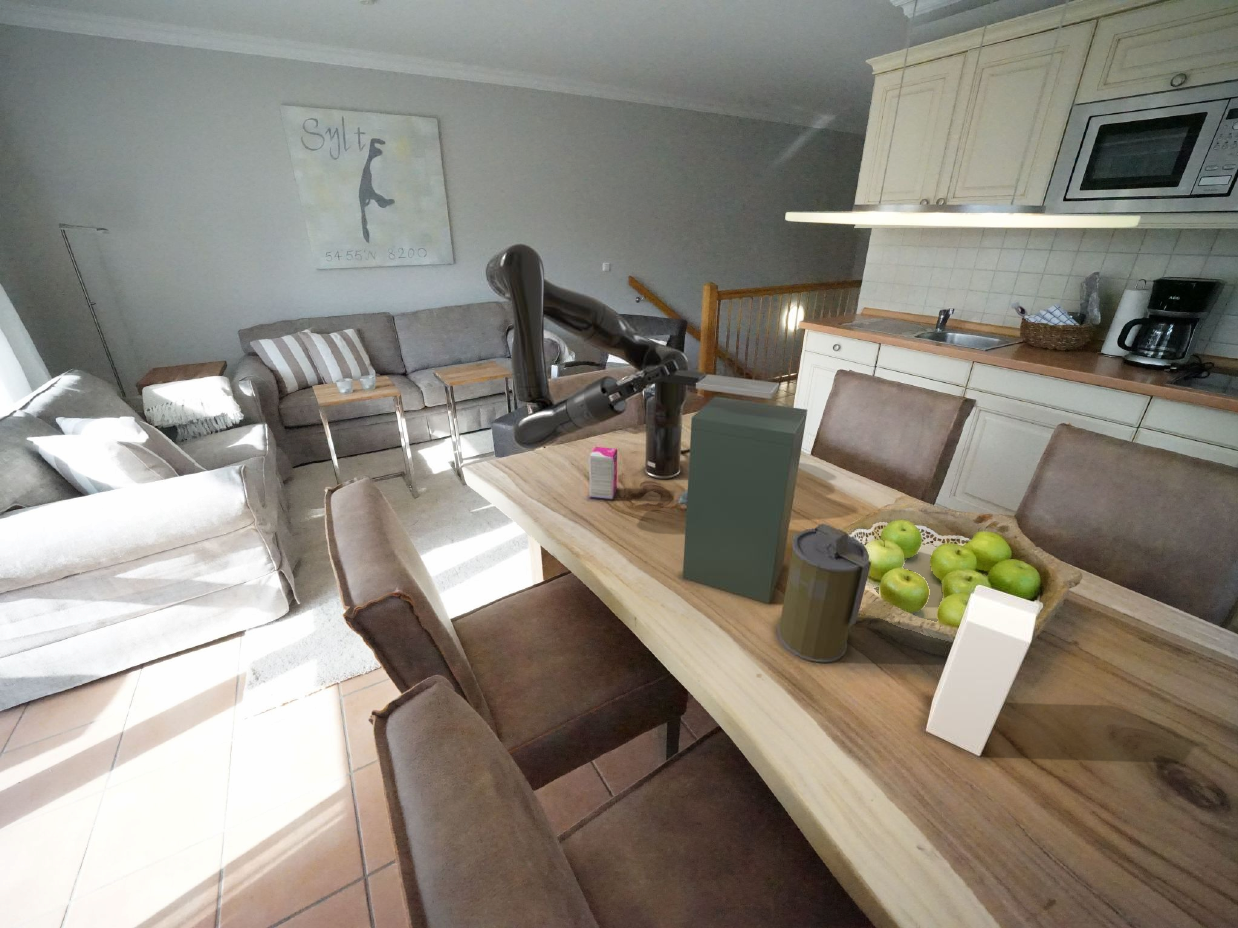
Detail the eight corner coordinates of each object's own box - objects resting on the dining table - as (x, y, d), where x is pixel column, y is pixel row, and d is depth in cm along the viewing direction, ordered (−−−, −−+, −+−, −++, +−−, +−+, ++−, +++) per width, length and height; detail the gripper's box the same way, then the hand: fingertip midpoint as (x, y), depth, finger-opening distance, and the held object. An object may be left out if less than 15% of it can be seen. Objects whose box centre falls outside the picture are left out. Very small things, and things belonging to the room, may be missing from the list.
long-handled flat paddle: (653, 372, 91) (654, 364, 91) (778, 389, 82) (779, 379, 81) (639, 381, 86) (639, 372, 86) (770, 399, 77) (771, 389, 77)
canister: (764, 633, 82) (779, 528, 73) (802, 606, 88) (821, 506, 79) (824, 676, 74) (850, 564, 66) (862, 643, 80) (890, 536, 71)
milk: (932, 700, 70) (978, 570, 61) (984, 723, 67) (1041, 589, 58) (925, 732, 66) (973, 597, 57) (980, 758, 63) (1041, 619, 53)
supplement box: (613, 501, 122) (612, 457, 117) (589, 498, 123) (587, 455, 118) (617, 489, 127) (617, 447, 122) (594, 487, 128) (593, 446, 123)
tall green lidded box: (703, 545, 105) (714, 396, 91) (782, 566, 98) (807, 409, 84) (682, 578, 95) (691, 417, 81) (768, 604, 88) (794, 433, 75)
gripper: (566, 395, 90) (644, 356, 80) (605, 376, 101) (677, 339, 91) (586, 433, 91) (665, 399, 81) (622, 409, 102) (694, 377, 92)
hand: (671, 367), depth 86 cm, fingers closed on long-handled flat paddle, 3 cm apart
